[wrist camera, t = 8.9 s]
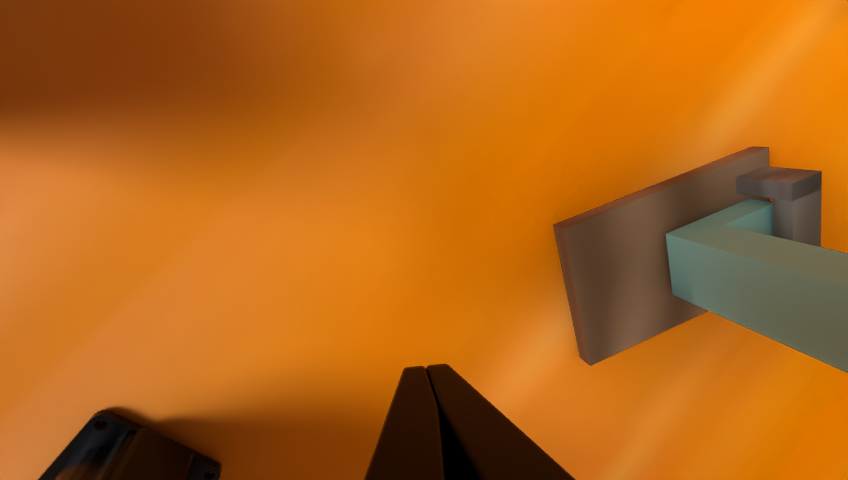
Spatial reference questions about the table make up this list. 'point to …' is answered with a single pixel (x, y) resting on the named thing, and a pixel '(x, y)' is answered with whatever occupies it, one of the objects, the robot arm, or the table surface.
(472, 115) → the table surface
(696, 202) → the bracket
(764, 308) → the teal block
